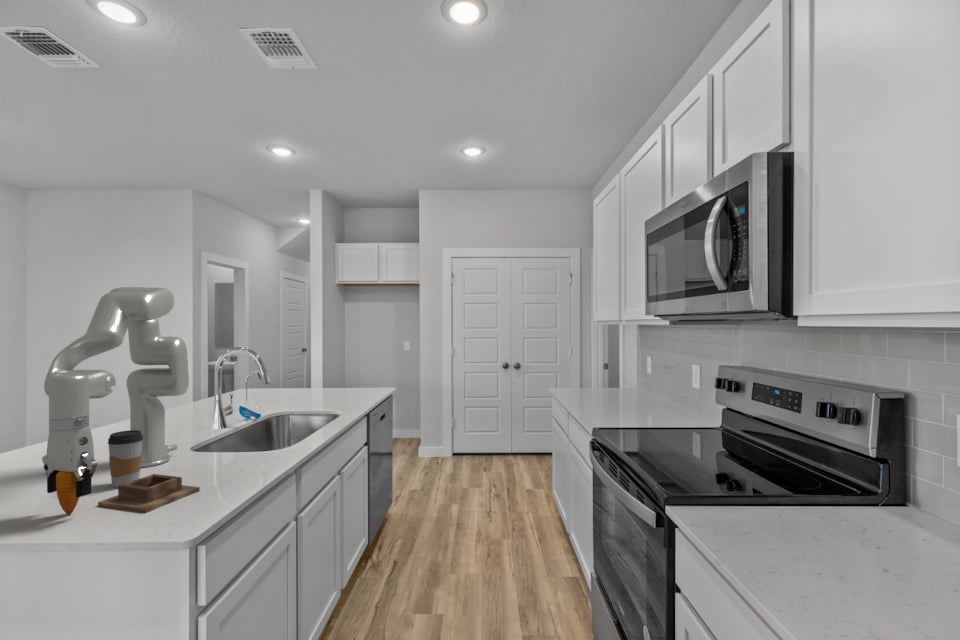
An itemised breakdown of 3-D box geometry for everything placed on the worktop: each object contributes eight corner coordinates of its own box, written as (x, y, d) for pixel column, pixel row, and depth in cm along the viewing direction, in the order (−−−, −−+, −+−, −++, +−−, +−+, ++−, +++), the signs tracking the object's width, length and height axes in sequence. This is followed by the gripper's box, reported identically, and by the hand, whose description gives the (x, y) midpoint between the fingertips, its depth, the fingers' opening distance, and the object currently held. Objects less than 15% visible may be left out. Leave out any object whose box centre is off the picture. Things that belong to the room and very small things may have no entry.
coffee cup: (150, 481, 141) (150, 431, 141) (120, 491, 133) (120, 437, 133) (130, 478, 144) (130, 428, 144) (100, 487, 136) (100, 435, 136)
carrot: (66, 511, 119) (66, 451, 119) (87, 510, 120) (87, 451, 120) (50, 519, 114) (50, 457, 114) (72, 518, 115) (72, 456, 115)
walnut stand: (155, 485, 138) (155, 469, 138) (199, 490, 133) (199, 474, 133) (97, 506, 122) (97, 488, 122) (145, 513, 118) (145, 495, 118)
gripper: (110, 422, 118) (110, 491, 118) (61, 418, 123) (61, 484, 123) (78, 429, 111) (78, 502, 111) (26, 425, 116) (26, 495, 116)
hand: (69, 493), depth 117 cm, fingers open, 9 cm apart
